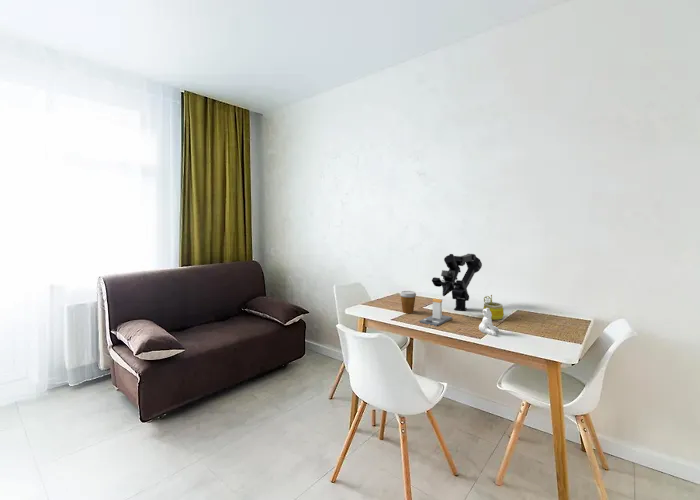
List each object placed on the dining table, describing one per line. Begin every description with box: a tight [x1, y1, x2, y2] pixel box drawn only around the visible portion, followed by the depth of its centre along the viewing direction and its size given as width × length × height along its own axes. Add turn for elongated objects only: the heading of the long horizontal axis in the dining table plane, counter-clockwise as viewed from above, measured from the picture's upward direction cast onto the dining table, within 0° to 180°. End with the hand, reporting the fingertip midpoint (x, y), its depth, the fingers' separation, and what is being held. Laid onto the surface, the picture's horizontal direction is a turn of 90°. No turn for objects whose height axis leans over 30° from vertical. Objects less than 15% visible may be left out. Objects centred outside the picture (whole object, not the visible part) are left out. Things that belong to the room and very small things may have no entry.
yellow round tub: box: [482, 294, 505, 321], centre depth 190 cm, size 13×11×12 cm
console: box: [419, 314, 453, 327], centre depth 185 cm, size 18×10×2 cm, turn 138°
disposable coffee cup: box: [399, 290, 417, 314], centre depth 202 cm, size 10×10×12 cm
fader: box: [431, 298, 443, 319], centre depth 185 cm, size 2×5×10 cm, turn 48°
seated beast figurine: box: [478, 308, 500, 337], centre depth 165 cm, size 10×9×12 cm
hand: (443, 295), depth 190 cm, fingers closed
